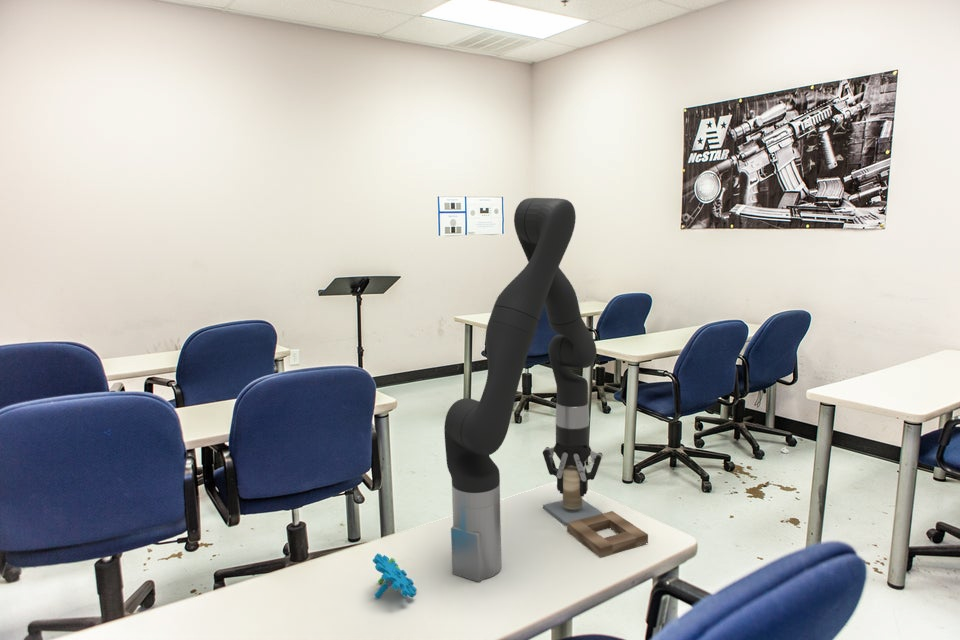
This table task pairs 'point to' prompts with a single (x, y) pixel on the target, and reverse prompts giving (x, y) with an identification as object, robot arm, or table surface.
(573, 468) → the peg
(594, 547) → the pocket block
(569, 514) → the mat
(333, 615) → the table surface
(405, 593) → the blue branched plastic piece
